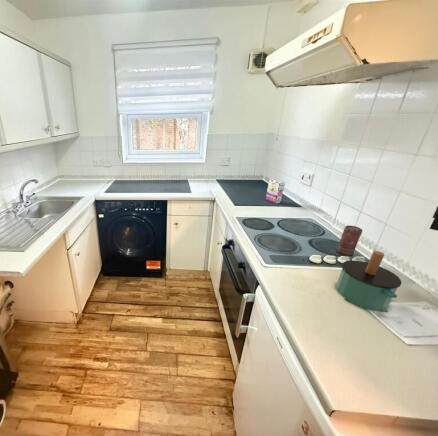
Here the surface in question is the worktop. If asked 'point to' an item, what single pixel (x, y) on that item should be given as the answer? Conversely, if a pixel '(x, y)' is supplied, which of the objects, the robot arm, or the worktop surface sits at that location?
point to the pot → (364, 293)
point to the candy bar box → (275, 191)
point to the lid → (372, 272)
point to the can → (349, 240)
